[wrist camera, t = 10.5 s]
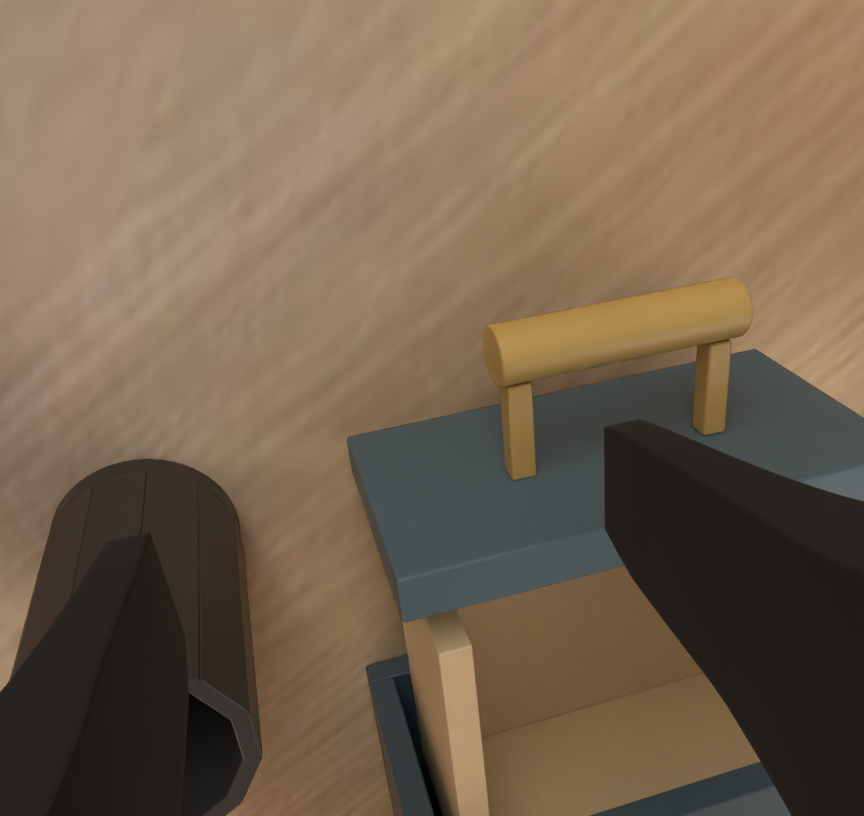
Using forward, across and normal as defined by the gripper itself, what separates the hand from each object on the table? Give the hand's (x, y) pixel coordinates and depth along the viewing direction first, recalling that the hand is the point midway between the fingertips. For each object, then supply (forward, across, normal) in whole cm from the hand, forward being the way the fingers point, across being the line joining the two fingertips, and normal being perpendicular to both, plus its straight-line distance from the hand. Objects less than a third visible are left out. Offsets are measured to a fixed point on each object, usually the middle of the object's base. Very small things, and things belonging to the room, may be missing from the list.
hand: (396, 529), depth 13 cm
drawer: (+9, -6, +8) cm, 13 cm away
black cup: (+10, +6, +6) cm, 13 cm away
